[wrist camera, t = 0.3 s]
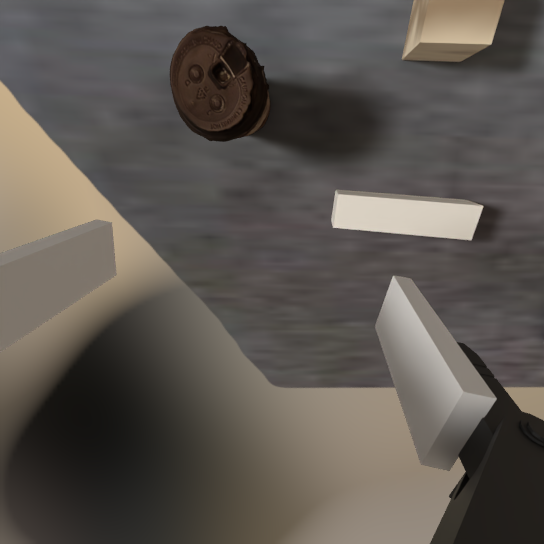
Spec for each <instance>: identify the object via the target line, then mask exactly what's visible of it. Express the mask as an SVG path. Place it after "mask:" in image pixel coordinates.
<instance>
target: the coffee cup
mask: <svg viewBox="0 0 544 544" xmlns="http://www.w3.org/2000/svg"><path fill="white" fill-rule="evenodd" d="M170 83H171V88H172V94H173V98H174V102H175V105H176V107H177V110H178V112H179V114H180V117H181V118H182V119H183V121H184V122H185V123H186V125H187V126H188V127H189V128H190V129H191V130H192V131H193V132H194V133H196V134H198V135H200V136H203V137H204V138H206V139H208V140H209V141H223V142H224V141H229V140H232V139H236V138H241V137H244V136H248V135H251V134H253V133H254V132H256V131H257V130H259V129H260V128H262V127H263V125H264V124H265V123H266V121H267V118H268V115H269V112H270V99H269V92H268V89H269V85H268V84H267V82H266V77H265V73H264V66H260V64H259V63H258V60H257V58H256V56H255V53H254V52H253V51H252V50H251V49H250V48H249V47H247V46H246V43H243V42H241V41H240V40H238V39H237V38H236V37H234V36H233V35H232V34H230V33H229V32H228V29H227V27H226V26H224V27H223V26H219V27H216V26H215V27H209V26H205V27H202V28H197V29H194V30H193V31H191V32H189V33H188V34H186V36H185V37H184V38H183V39H182V40H181V42H180V43H179V45H178V47H177V49H176V51H175V53H174V55H173V58H172V61H171V66H170Z"/></svg>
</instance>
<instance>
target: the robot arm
mask: <svg viewBox="0 0 544 544" xmlns="http://www.w3.org/2000/svg"><path fill="white" fill-rule="evenodd" d="M114 276H116V265H115V253H114V242H113V230H112V222H106V221H101V220H94V221H91V222H88V223H85V224H82V225H80V226H77V227H74V228H71V229H68V230H65V231H62V232H59V233H57V234H54V235H51V236H48V237H45V238H42V239H40V240H37V241H34V242H31V243H28V244H25V245H22V246H19V247H17V248H14V249H11V250H8V251H5V252H2V253H0V352H1V351H3V350H4V349H6V348H7V347H9V346H10V345H12V344H13V343H15V342H16V341H18V340H19V339H21V338H22V337H24V336H25V335H27V334H28V333H30V332H31V331H33V330H34V329H36V328H37V327H39V326H40V325H42V324H43V323H45V322H46V321H48V320H49V319H51V318H52V317H54V316H55V315H57V314H58V313H60V312H61V311H63V310H65V309H66V308H67V307H69V306H70V305H72V304H73V303H75V302H76V301H78V300H79V299H81V298H82V297H84V296H85V295H87V294H89V293H90V292H92V291H93V290H94V289H96V288H98V287H99V286H101V285H102V284H103V283H105V282H107V281H108V280H110V279H111V278H113V277H114ZM375 328H376V331H377V334H378V337H379V340H380V343H381V346H382V349H383V352H384V355H385V358H386V361H387V364H388V367H389V370H390V373H391V376H392V379H393V382H394V385H395V388H396V391H397V394H398V397H399V400H400V403H401V406H402V409H403V412H404V415H405V418H406V421H407V424H408V427H409V430H410V433H411V436H412V439H413V442H414V445H415V448H416V451H417V454H418V457H419V460H420V463H421V465H425V466H430V467H434V468H438V469H443V470H447V471H450V469H451V467H452V466H453V465H454V463H455V461H456V460H457V458H458V457H459V458H460V460H461V462H462V464H463V466H464V468H465V471H466V472H465V474H464V475H463V477H462V478H461V480H460V481H459V482H458V484H457V485H456V487H455V488H454V489H453V491H452V492H451V494H450V495H449V497H450V498H451V501H450V503H449V505H448V507H447V509H446V511H445V513H444V515H443V517H442V519H441V522H440V524H439V526H438V528H437V530H436V532H435V534H434V536H433V538H432V541H431V543H430V544H544V421H543V420H541V419H539V418H537V417H535V416H533V415H531V414H528V413H524V412H522V411H521V410H520V409H519V407H518V406H517V405H516V404H515V402H514V401H513V400H512V398H511V397H510V396H509V394H508V393H507V392H506V391H505V389H504V388H503V387H502V385H501V384H500V383H499V382H498V380H497V379H495V378H494V375H493V374H492V373H491V371H490V370H489V369H487V366H486V365H485V364H484V362H483V361H482V360H481V358H480V357H479V356H478V355H477V354H476V353H475V352H474V351H472V350H471V349H470V348H469V347H467V346H466V345H465V344H463V343H458V342H456V341H455V340H454V338H453V337H452V335H451V334H450V333H449V331H448V330H447V328H446V327H445V326H444V324H443V323H442V321H441V320H440V319H439V317H438V316H437V314H436V313H435V312H434V310H433V309H432V307H431V306H430V305H429V303H428V302H427V300H426V299H425V298H424V296H423V295H422V294H421V292H420V291H419V289H418V288H417V287H416V285H415V284H414V282H413V281H412V280H411V279H410V278H405V277H400V276H394V275H393V278H392V280H391V283H390V286H389V289H388V292H387V294H386V297H385V300H384V303H383V305H382V308H381V311H380V314H379V317H378V319H377V322H376V325H375Z"/></svg>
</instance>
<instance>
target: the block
mask: <svg viewBox="0 0 544 544" xmlns="http://www.w3.org/2000/svg"><path fill="white" fill-rule="evenodd" d="M503 4H504V0H414V2H413V7H412V12H411V17H410V22H409V27H408V32H407V37H406V42H405V47H404V52H403V57H402V60H420V61H448V62H461V61H463V60H465V59H466V58H468V57H470V56H472V55H474V54H475V53H477V52H479V51H481V50H482V49H484V48H486V47H488V46H489V45H491V44H492V41H493V37H494V34H495V30H496V27H497V24H498V20H499V17H500V14H501V10H502V7H503Z"/></svg>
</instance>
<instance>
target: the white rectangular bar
mask: <svg viewBox="0 0 544 544" xmlns="http://www.w3.org/2000/svg"><path fill="white" fill-rule="evenodd" d="M482 209H483V206H482V205H480V204H477V203H474V202H471V201H469V200H463V199H450V198H438V197H425V196H413V195H400V194H387V193H375V192H362V191H349V190H337V189H336V192H335V199H334V206H333V212H332V219H331V220H332V225H333V228H343V229H354V230H365V231H376V232H387V233H398V234H408V235H419V236H430V237H441V238H452V239H463V240H472V237H473V234H474V232H475V229H476V226H477V223H478V220H479V218H480V215H481V212H482Z"/></svg>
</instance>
